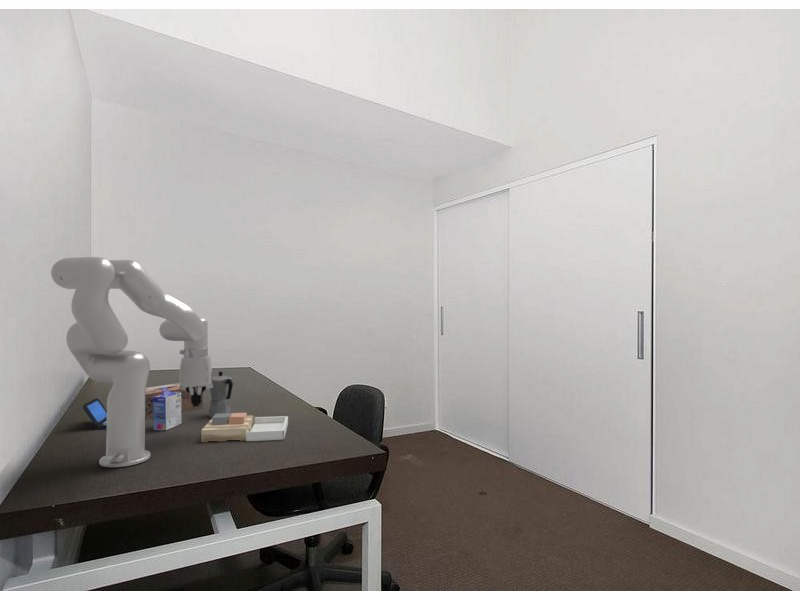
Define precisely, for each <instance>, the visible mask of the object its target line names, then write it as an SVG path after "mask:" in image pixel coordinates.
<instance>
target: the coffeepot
mask: <svg viewBox="0 0 800 600" xmlns="http://www.w3.org/2000/svg"><path fill="white" fill-rule="evenodd" d="M223 374H224V373H223V371H218V375H217V376H214V377H213V379H212V384H213V387H212V388H210V389H209V392H210V397H211V400H210V403H209V404H210V405H209V409H208V417H209V418H211V419H212V417H213V416H214V415H215V414H222V413H231V414H232V413H233V412H232V408H231V403H230V399H231V396H232V395H231V394H232V390H233V387H234V386H233V385H234V382H233V378H232V377H230V376H226V375H223Z"/></svg>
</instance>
